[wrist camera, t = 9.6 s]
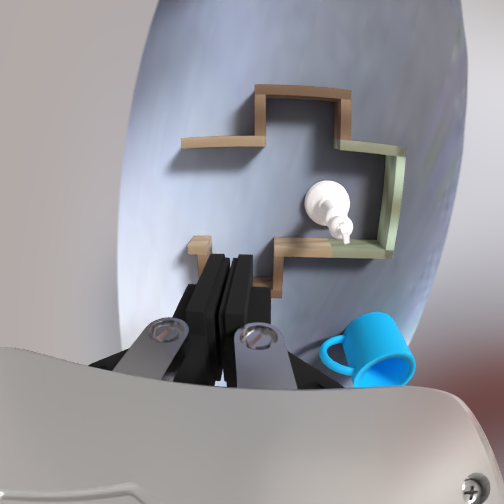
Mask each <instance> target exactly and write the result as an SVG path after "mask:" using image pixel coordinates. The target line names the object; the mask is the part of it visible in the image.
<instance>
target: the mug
mask: <svg viewBox="0 0 504 504" xmlns="http://www.w3.org/2000/svg"><path fill="white" fill-rule="evenodd" d="M338 343H342V345H343V349H344V352H345V356H346V360H347V363H348V367H347V366H344V365H341V364H339V363H337V362H335V361H333V360H332V359H331V358H330V357H329V356H328V354H327V349H328V347H330V346H332V345H334V344H338ZM319 356H320V358H321V361H322V362H323V363H324V364H325V365H326V366H327V367H328V368H329V369H331V370H333V371H335V372H337V373H340V374H344V375H348V376H351V378H352V382H353V386H354V388H357V387H376V386H404V385H405V384H406V383H407V382H408V381H409V380H410V379H411V377H412V376H413V374H414V371H415V369H416V362H415V360H414V358H413V356H412V354H411V352H410V350H409V348H408V346H407V344H406V342H405V340H404V338H403V336H402V334H401V333H400V331H399V329H398V327H397V325H396V323H395V322H394V320H393V319H392V317H390V316H389V315H387V314H385V313H380V312H374V313H368V314H365V315H362V316H360V317H358V318H357V319H355V320H354V321H352V322H351V323H350V325H349V326H348V327H347V328H346V330H345V331H344V333H343V335H339V336H335V337H331V338H330V339H328V340H326V341H325V342H324V343H323V344H322V345H321V347H320V351H319Z"/></svg>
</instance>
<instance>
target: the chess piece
mask: <svg viewBox="0 0 504 504" xmlns="http://www.w3.org/2000/svg"><path fill="white" fill-rule="evenodd" d="M349 208H350V200H349V196H348V193H347V192H346V190H345V189H344V187H342V186H341V185H340V184H338V183H336V182H334V181H321V182H318V183H316V184H315V185H313V186H312V187H311V188H310V189H309V191H308V192H307V194H306V197H305V210H306V212H307V214H308V216H309V217H310V218H311V219H312V220H313V221H314V222H316V223H317V224H320V225H323V226H327V227H328V228H329V230H330V233H331V235H332V236H333V237H334V238H336V239H343V241H344V244H348V243H350V241H349V239H350V238H349V235H350V234H351V233H352V230H353V224H352V222H351V220H350V219H349V218H348V216H347V214H348V211H349Z"/></svg>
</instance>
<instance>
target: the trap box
mask: <svg viewBox="0 0 504 504" xmlns="http://www.w3.org/2000/svg"><path fill="white" fill-rule="evenodd" d="M266 98H278V99H302V100H317V101H329V102H334V147H333V148H334V149H338V150H346V151H356V152H366V153H375V154H384V155H386V161H385V174H384V186H383V195H382V205H381V213H380V221H379V228H378V235H377V240H361V239H349V241H350V243H348V244H344V241H343V239H329V238H292V237H274V256H273V277H253V287H271V298H282V284H283V265H284V257H324V258H375V259H392V256H393V251H394V245H395V240H396V234H397V228H398V221H399V214H400V207H401V199H402V190H403V181H404V170H405V157H406V148H405V147H399V146H393V145H385V144H378V143H370V142H361V141H351V90H345V89H336V88H326V87H314V86H299V85H271V84H255V136H212V137H192V138H181V149H182V148H201V147H236V146H265V147H266ZM187 249H188V254H191V255H197V259H198V270H199V278H200V276H201V274H202V271H203V269H204V267H205V265H206V262H207V260H208V258H209V256H210V254H212V241H211V236H194V237H193V238H192V239H191V241H190V242H189V244H188V245H187Z"/></svg>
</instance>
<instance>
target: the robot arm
mask: <svg viewBox="0 0 504 504" xmlns="http://www.w3.org/2000/svg"><path fill="white" fill-rule="evenodd" d="M222 370H223V372H224V381H226V382H227V387H220V386H214V385H215V381H220V380H221V376H222ZM0 504H504V482H503V479H502V476H501V473H500V470H499V467H498V464H497V461H496V459H495V456H494V454H493V452H492V449H491V447H490V444H489V442H488V440H487V438H486V436H485V434H484V432H483V430H482V428H481V426H480V424H479V423H478V421H477V419H476V418H475V416H474V414H473V413H472V412H471V411H470V409H469V408H468V407H467V405H466V404H465V403H464V402H463V401H462V400H461V399H459V398H458V397H456V396H455V395H453V394H450V393H447V392H445V391H441V390H438V389H432V388H426V387H418V386H376V387H357V388H344V387H343V386H342V385H340V384H339V383H337V382H336V381H334V380H333V379H331V378H329V377H328V376H326V375H324V374H323V373H321V372H320V371H318V370H316V369H315V368H313V367H312V366H310V365H309V364H307V363H305V362H304V361H302V360H301V359H299V358H298V357H296V356H295V355H293V354H291V353H290V352H288V351H287V348H286V345H285V341H284V337H283V335H282V333H281V331H280V330H279V329H278V328H277V327H275V326H273V325H271V287H253V255H241V254H239V256H238V258H233V261H232V265H231V268H230V258H225V255H224V254H210V256H209V258H208V260H207V262H206V265H205V267H204V269H203V271H202V274H201V276H200V278H199V280H198V283H197V284H188V286H187V288H186V290H185V292H184V294H183V296H182V298H181V300H180V302H179V304H178V306H177V309H176V311H175V313H174V315H173V317H172V318H170V317H168V318H161V319H158V320H155V321H153V322H152V323H150V324H149V325H148V326H147V327H146V328H145V329H144V331H143V332H142V333H141V334H140V336H139V337H138V338H137V339H136V341H135V342H134V343H133V345H132V346H131V347H130V348H129V349H126V350H124V351H121V352H119V353H117V354H114V355H112V356H109V357H107V358H104V359H102V360H99V361H97V362H95V363H92V364H90V365H88V366H86V365H82V364H78V363H74V362H70V361H66V360H63V359H59V358H55V357H52V356H48V355H44V354H40V353H37V352H33V351H29V350H25V349H19V348H10V347H0Z"/></svg>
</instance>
